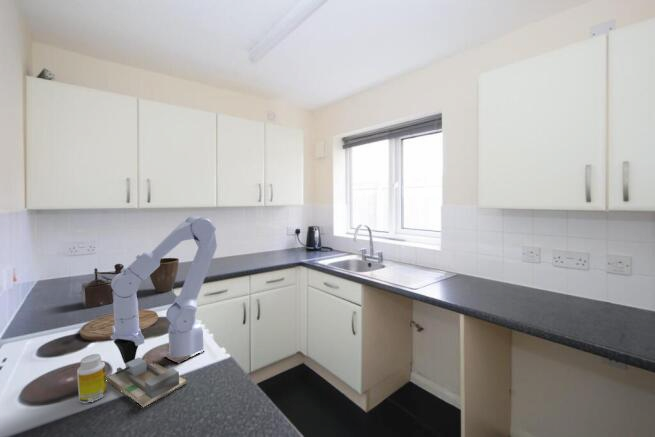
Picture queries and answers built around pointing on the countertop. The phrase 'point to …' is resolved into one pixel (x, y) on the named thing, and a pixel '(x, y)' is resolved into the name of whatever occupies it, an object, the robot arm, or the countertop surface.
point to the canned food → (107, 279)
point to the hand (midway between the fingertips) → (129, 362)
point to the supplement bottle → (91, 378)
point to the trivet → (103, 325)
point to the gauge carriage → (135, 367)
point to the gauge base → (146, 383)
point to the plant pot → (165, 274)
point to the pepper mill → (99, 290)
